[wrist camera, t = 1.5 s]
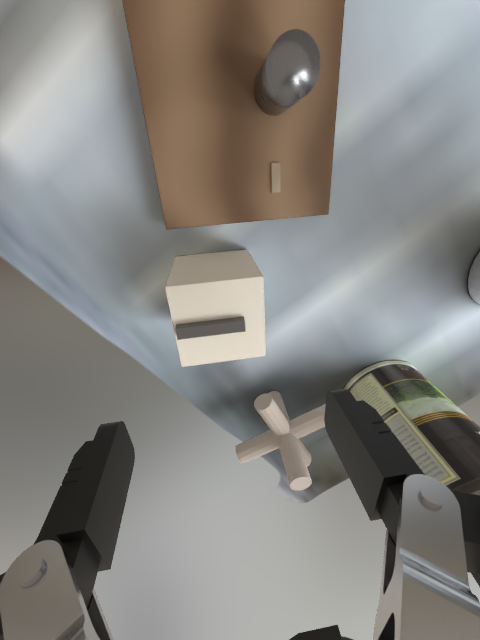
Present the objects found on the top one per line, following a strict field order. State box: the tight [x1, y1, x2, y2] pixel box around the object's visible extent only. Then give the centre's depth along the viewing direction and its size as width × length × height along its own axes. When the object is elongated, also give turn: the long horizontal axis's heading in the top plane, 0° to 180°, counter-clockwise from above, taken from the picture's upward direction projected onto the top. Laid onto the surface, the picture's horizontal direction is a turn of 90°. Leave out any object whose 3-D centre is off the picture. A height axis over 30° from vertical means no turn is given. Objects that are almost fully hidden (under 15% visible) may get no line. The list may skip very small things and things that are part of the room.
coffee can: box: [344, 360, 480, 495], centre depth 27 cm, size 10×10×14 cm
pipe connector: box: [236, 391, 326, 490], centre depth 27 cm, size 10×10×10 cm
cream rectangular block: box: [165, 249, 266, 367], centre depth 21 cm, size 6×6×8 cm
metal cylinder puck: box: [254, 29, 320, 116], centre depth 15 cm, size 3×3×4 cm
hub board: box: [122, 0, 345, 229], centre depth 18 cm, size 12×13×2 cm
